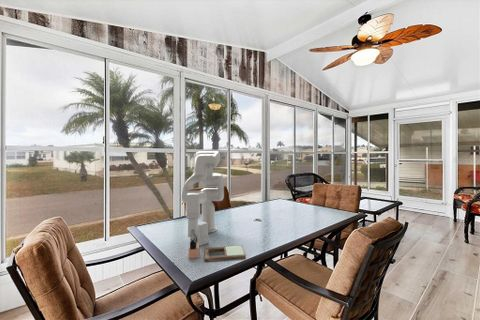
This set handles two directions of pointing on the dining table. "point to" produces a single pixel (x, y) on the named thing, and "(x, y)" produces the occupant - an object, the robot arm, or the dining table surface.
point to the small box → (202, 233)
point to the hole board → (219, 252)
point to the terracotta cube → (194, 252)
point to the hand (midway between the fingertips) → (193, 245)
